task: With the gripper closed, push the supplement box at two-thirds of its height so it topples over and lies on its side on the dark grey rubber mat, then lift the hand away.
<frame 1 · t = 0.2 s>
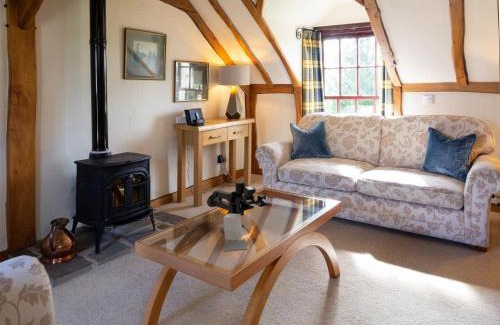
hand: (260, 205, 215), 17 cm above the table, tool horizontal, fingers open, 9 cm apart
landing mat: (235, 245, 204), on the table
supplement box: (233, 238, 216), on the table
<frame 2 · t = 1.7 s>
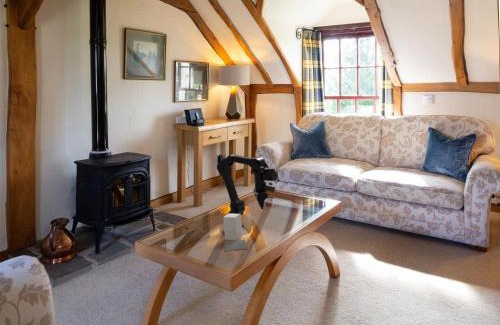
hand: (261, 207, 224), 13 cm above the table, tool pointing down, fingers open, 6 cm apart
nothing on the table moved.
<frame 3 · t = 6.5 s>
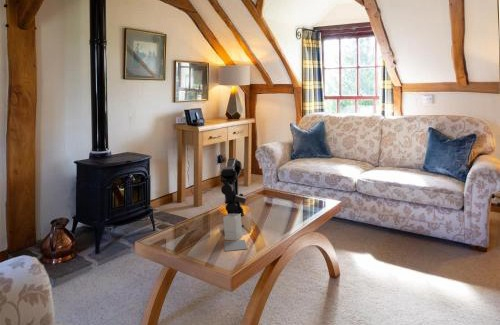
hand: (231, 219, 222), 9 cm above the table, tool pointing down, fingers closed
supplement box: (233, 238, 216), on the table, touching gripper
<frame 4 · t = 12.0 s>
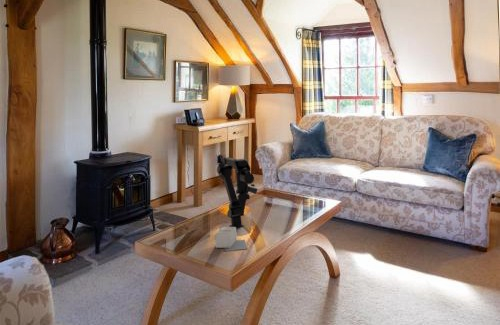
hand: (243, 208, 225), 13 cm above the table, tool pointing down, fingers closed
supplement box: (230, 233, 212), point 4 cm above the table, touching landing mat
at the end: supplement box tilted 90°; supplement box touching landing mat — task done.
